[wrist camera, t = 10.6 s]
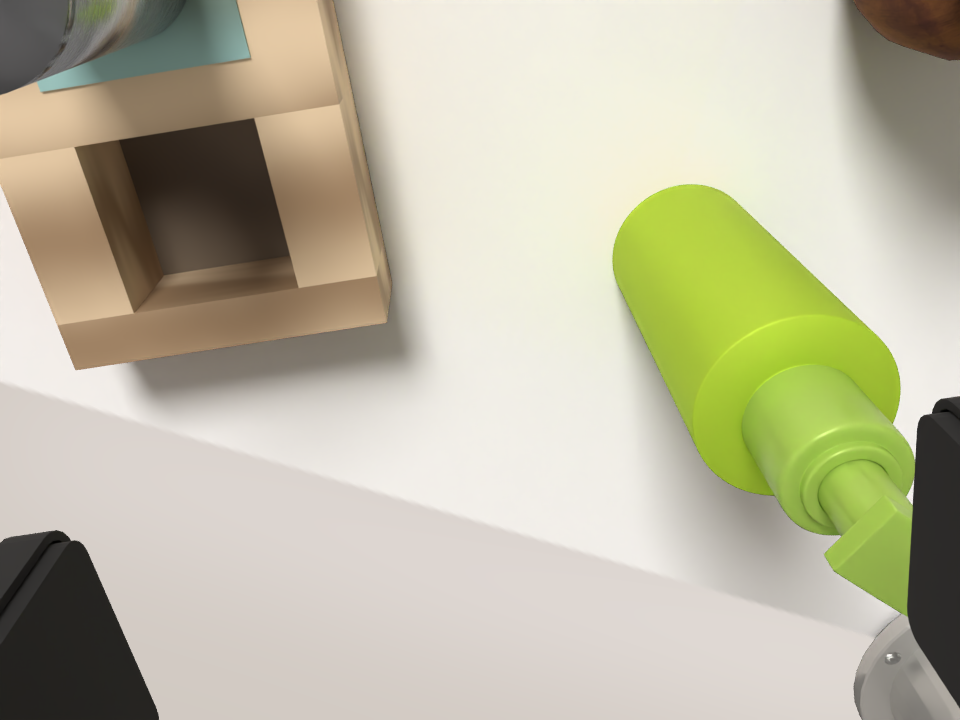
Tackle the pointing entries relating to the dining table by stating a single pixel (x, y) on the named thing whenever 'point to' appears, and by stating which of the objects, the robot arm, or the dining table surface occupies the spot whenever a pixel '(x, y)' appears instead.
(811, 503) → the soap dispenser
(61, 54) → the grey cylinder
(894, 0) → the wooden figurine
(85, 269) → the housing
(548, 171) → the dining table surface
